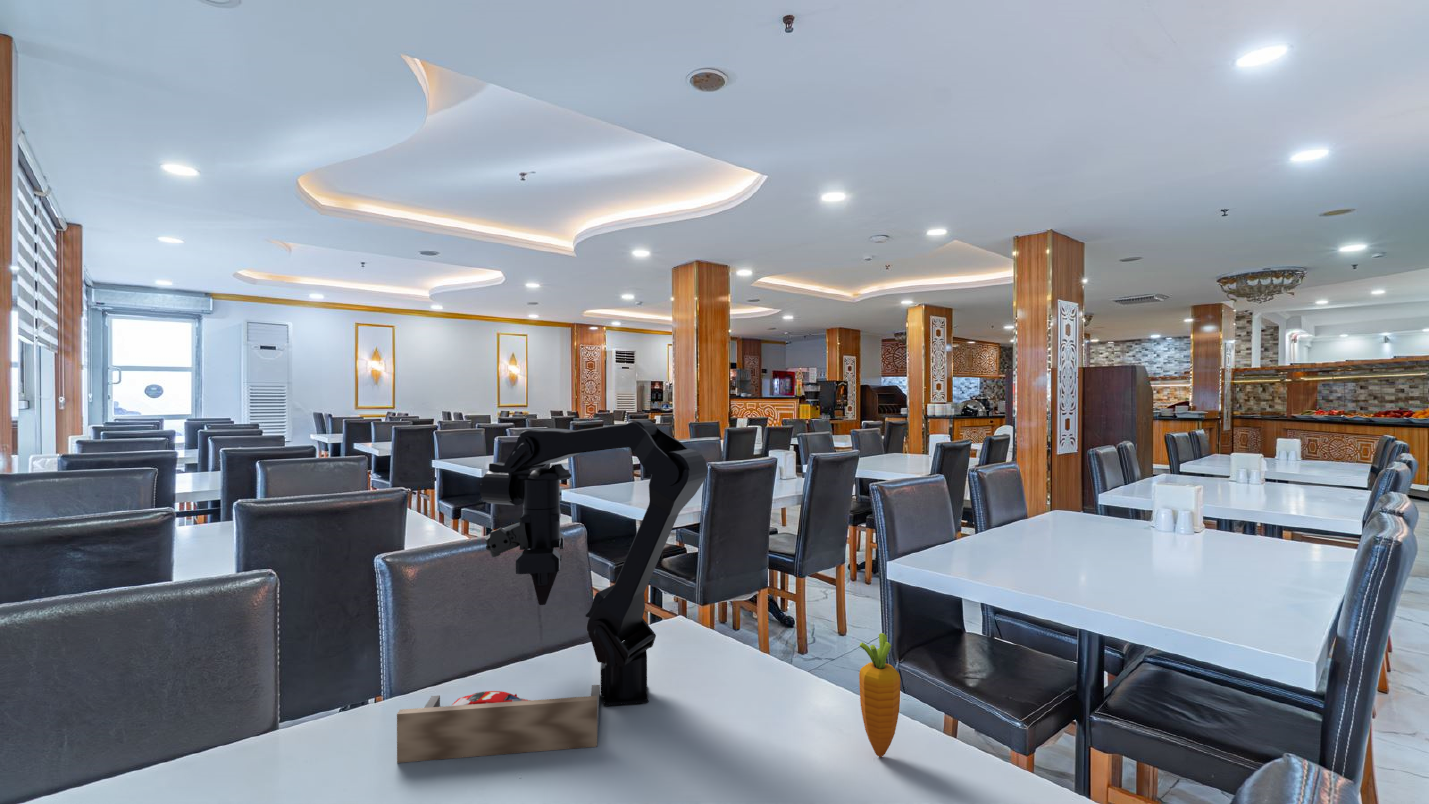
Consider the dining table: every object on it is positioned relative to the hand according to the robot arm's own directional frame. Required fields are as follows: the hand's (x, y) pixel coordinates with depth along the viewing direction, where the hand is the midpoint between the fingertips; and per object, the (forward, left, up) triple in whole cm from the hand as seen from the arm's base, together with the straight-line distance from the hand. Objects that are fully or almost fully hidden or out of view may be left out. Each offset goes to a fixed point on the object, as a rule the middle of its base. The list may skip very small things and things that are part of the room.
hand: (542, 604), depth 104 cm
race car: (+5, +14, -12) cm, 19 cm away
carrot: (-44, +30, -12) cm, 55 cm away
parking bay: (+3, +15, -12) cm, 20 cm away
